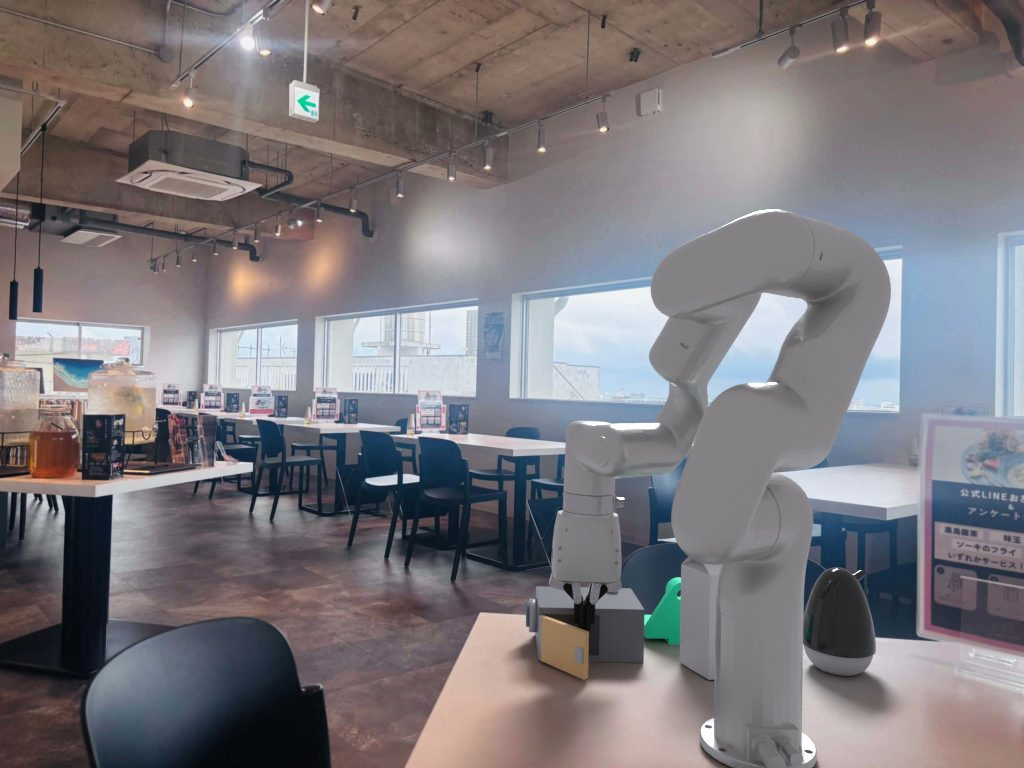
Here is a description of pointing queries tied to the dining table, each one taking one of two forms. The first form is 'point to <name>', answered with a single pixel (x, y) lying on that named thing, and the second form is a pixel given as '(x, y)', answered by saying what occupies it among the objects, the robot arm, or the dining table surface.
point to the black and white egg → (839, 624)
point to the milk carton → (698, 616)
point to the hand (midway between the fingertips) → (583, 627)
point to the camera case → (596, 622)
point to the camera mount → (666, 615)
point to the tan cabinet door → (563, 646)
